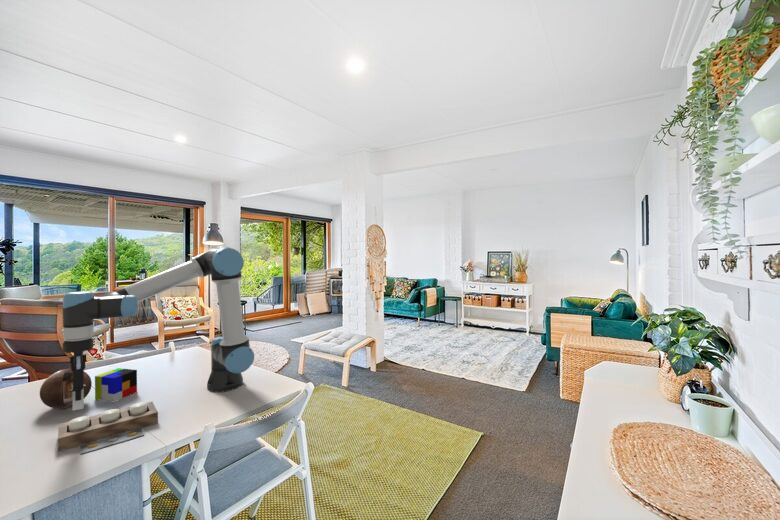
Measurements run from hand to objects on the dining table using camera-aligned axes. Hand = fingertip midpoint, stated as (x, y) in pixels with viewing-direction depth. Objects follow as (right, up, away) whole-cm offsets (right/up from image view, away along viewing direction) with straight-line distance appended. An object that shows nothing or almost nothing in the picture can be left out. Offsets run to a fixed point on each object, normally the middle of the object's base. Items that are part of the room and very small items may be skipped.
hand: (78, 408), depth 112 cm
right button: (+12, -7, +11) cm, 18 cm away
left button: (0, -7, 0) cm, 7 cm away
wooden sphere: (-26, -9, +23) cm, 36 cm away
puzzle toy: (-14, -9, +33) cm, 38 cm away
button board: (+8, -10, +3) cm, 13 cm away
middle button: (+6, -7, +6) cm, 11 cm away
